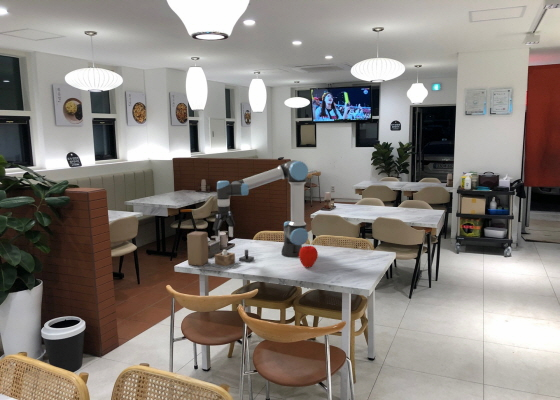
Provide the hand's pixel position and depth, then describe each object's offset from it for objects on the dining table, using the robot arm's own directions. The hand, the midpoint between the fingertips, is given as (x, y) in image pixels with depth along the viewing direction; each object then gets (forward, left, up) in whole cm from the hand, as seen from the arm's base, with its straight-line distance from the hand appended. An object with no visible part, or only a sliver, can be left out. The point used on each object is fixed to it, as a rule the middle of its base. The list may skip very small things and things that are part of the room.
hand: (224, 238), depth 282 cm
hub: (0, 0, -17) cm, 17 cm away
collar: (0, 0, -16) cm, 16 cm away
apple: (-49, -20, -17) cm, 55 cm away
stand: (-7, -14, -17) cm, 23 cm away
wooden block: (+16, +7, -17) cm, 24 cm away
